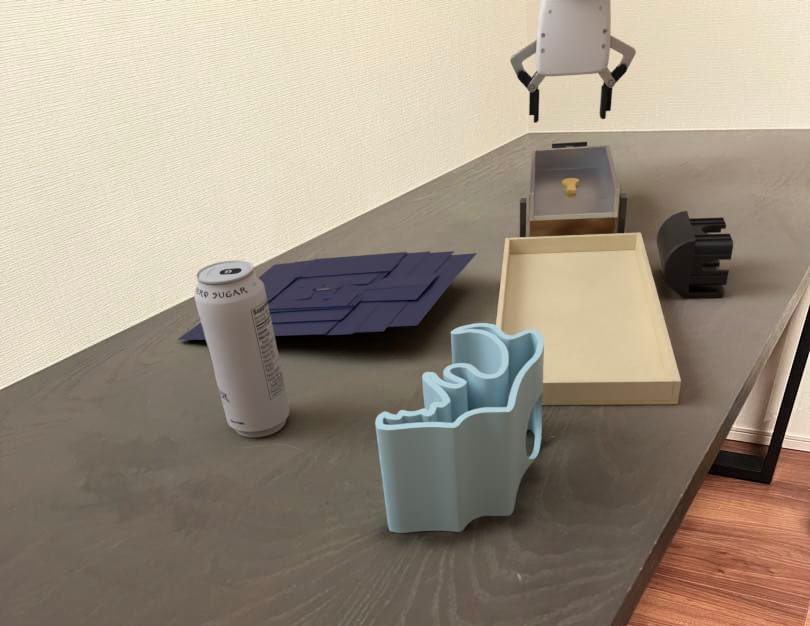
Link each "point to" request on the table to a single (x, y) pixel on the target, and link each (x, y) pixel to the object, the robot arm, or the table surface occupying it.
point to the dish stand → (574, 223)
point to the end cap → (694, 255)
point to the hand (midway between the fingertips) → (569, 118)
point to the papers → (354, 292)
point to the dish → (592, 193)
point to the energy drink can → (242, 347)
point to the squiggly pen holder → (465, 433)
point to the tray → (590, 318)
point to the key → (571, 185)
